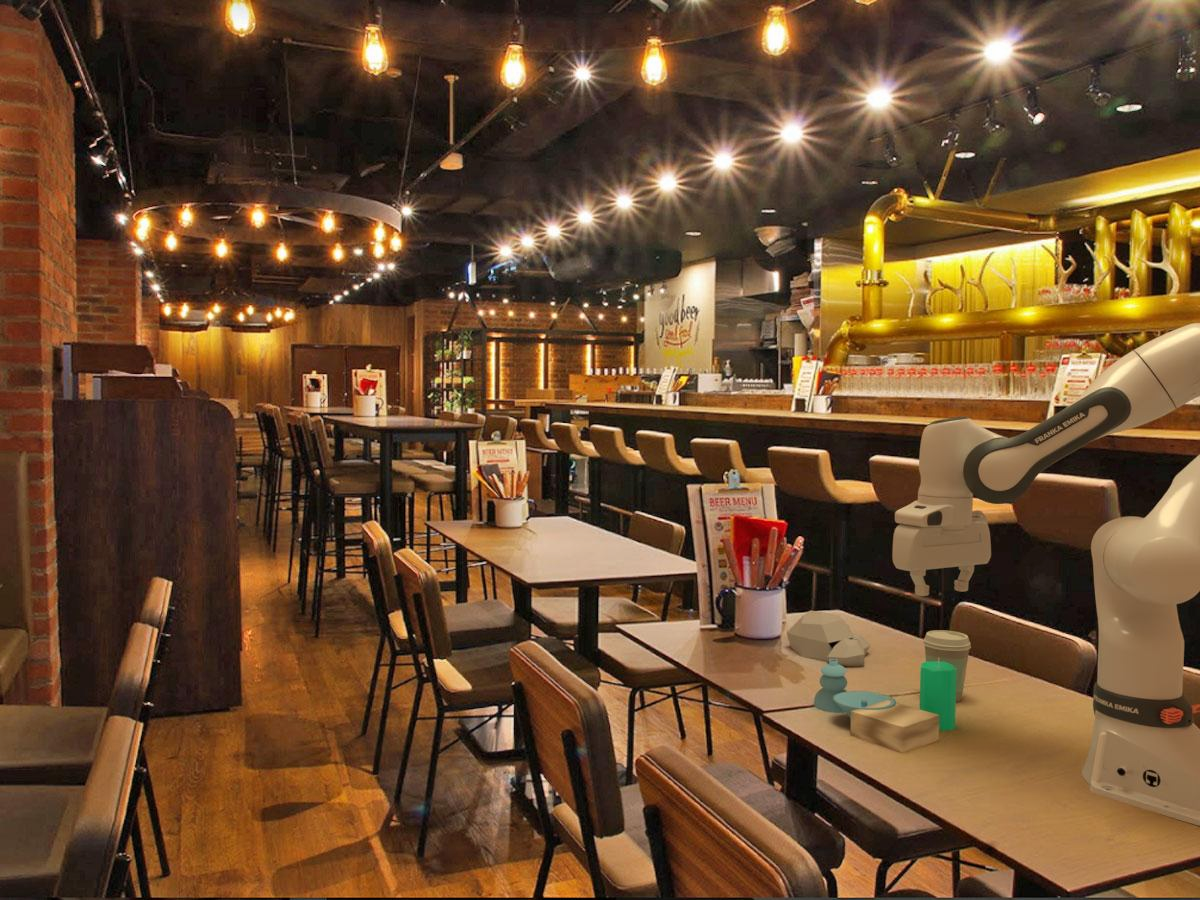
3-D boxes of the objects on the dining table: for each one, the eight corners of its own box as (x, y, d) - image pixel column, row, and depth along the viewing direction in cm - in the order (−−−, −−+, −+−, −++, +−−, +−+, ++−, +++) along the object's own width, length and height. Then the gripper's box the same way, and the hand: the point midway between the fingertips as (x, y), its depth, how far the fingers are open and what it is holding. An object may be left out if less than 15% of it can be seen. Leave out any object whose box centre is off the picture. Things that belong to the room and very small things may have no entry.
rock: (868, 648, 224) (869, 606, 224) (876, 672, 205) (877, 626, 204) (786, 644, 228) (787, 602, 227) (786, 667, 208) (786, 622, 208)
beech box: (938, 745, 163) (939, 715, 163) (902, 758, 157) (903, 727, 156) (886, 728, 171) (887, 700, 171) (849, 740, 165) (850, 711, 164)
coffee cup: (973, 706, 182) (975, 641, 182) (924, 703, 184) (926, 638, 183) (965, 692, 191) (967, 630, 190) (919, 689, 193) (920, 628, 192)
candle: (924, 718, 175) (926, 651, 175) (959, 725, 172) (961, 656, 171) (913, 727, 171) (915, 658, 170) (949, 734, 167) (951, 663, 166)
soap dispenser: (908, 730, 167) (909, 677, 167) (855, 738, 164) (855, 683, 164) (847, 701, 184) (847, 653, 184) (798, 707, 181) (798, 658, 180)
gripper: (972, 507, 177) (969, 585, 178) (887, 512, 167) (884, 594, 168) (1001, 511, 171) (998, 591, 172) (915, 517, 161) (913, 601, 162)
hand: (941, 593), depth 170 cm, fingers open, 8 cm apart
